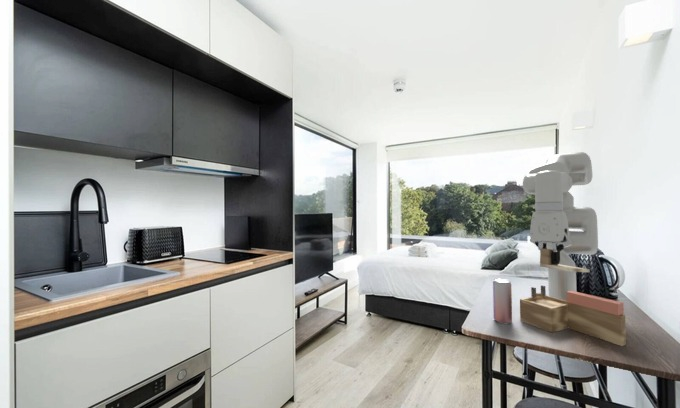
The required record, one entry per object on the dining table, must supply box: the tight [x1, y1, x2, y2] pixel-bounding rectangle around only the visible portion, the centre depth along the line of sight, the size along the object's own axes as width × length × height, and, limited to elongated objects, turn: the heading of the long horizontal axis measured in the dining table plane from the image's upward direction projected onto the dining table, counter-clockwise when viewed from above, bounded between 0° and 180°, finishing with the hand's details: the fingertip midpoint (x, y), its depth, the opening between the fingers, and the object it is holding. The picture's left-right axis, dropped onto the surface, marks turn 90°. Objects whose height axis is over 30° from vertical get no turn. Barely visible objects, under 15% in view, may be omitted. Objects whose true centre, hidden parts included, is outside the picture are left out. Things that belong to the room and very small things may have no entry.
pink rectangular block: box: [567, 291, 625, 316], centre depth 94 cm, size 3×14×4 cm, turn 23°
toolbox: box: [519, 285, 627, 347], centre depth 98 cm, size 13×26×12 cm, turn 23°
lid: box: [539, 248, 591, 273], centre depth 94 cm, size 11×9×6 cm
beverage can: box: [492, 278, 513, 325], centre depth 107 cm, size 6×6×15 cm
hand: (550, 262), depth 96 cm, fingers closed on lid, 2 cm apart
